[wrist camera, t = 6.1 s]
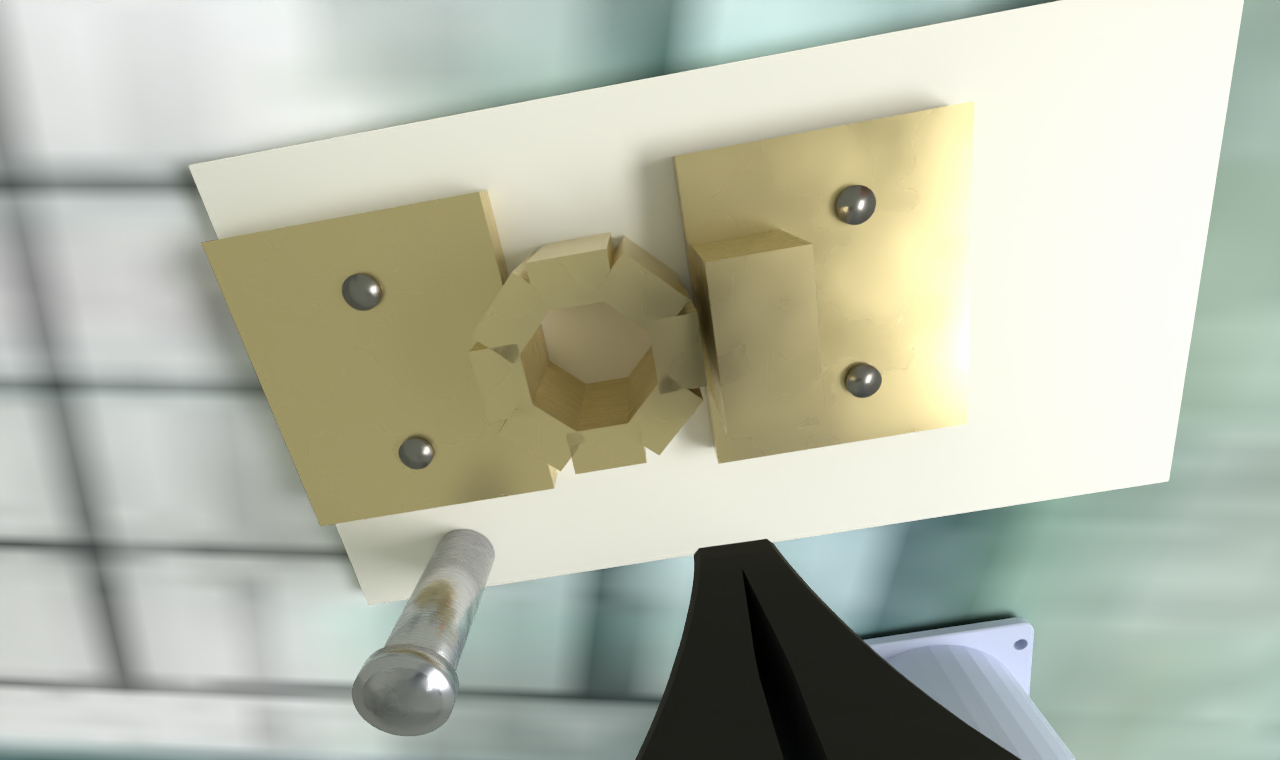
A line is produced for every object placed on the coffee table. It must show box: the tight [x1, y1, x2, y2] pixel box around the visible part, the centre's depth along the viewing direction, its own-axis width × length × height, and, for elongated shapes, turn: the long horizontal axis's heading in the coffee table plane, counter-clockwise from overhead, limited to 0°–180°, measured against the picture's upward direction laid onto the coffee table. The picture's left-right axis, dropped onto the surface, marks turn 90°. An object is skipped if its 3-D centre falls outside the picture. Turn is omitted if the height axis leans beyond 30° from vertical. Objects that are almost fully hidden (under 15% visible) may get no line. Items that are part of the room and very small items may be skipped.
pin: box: [352, 529, 495, 736], centre depth 18 cm, size 2×2×6 cm
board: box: [188, 0, 1244, 605], centre depth 18 cm, size 15×28×1 cm, turn 100°
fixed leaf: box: [202, 190, 707, 526], centre depth 16 cm, size 9×13×4 cm
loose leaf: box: [672, 101, 974, 464], centre depth 16 cm, size 9×8×4 cm
